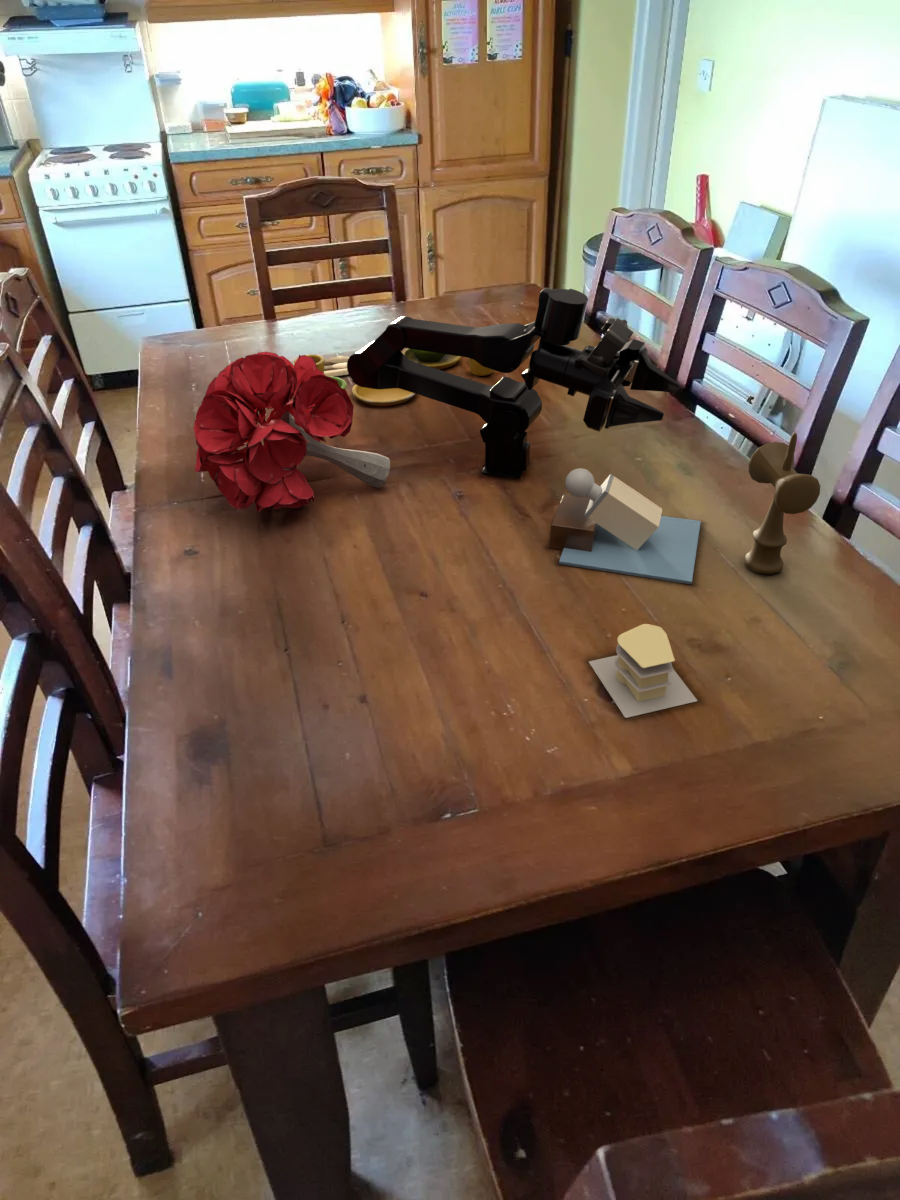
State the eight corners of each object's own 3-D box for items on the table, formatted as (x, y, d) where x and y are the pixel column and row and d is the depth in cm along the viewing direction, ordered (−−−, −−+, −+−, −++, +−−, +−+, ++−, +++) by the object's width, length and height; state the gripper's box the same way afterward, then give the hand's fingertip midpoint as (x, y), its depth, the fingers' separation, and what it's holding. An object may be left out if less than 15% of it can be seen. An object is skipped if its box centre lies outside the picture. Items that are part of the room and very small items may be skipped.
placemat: (558, 564, 119) (559, 561, 119) (579, 507, 131) (579, 504, 131) (691, 584, 114) (692, 581, 114) (700, 523, 127) (700, 520, 126)
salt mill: (558, 539, 123) (563, 476, 117) (565, 521, 127) (569, 460, 121) (654, 553, 120) (664, 489, 114) (658, 534, 123) (668, 472, 117)
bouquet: (343, 490, 150) (172, 432, 136) (405, 374, 139) (225, 298, 125) (362, 565, 134) (170, 508, 120) (433, 441, 123) (230, 362, 109)
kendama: (770, 545, 122) (802, 414, 110) (798, 585, 114) (836, 448, 102) (729, 548, 121) (756, 417, 109) (754, 588, 113) (787, 451, 101)
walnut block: (549, 548, 122) (550, 524, 120) (561, 516, 129) (563, 493, 126) (591, 554, 121) (593, 530, 118) (601, 522, 127) (604, 499, 125)
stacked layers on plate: (697, 701, 97) (705, 664, 93) (625, 718, 95) (630, 681, 91) (656, 647, 104) (662, 611, 101) (588, 661, 102) (592, 625, 99)
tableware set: (474, 344, 187) (474, 315, 183) (512, 393, 166) (513, 362, 162) (285, 364, 180) (281, 335, 176) (299, 419, 158) (294, 387, 154)
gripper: (560, 343, 115) (671, 380, 111) (602, 293, 127) (703, 325, 124) (544, 414, 123) (647, 451, 119) (585, 360, 135) (680, 392, 132)
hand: (671, 402), depth 123 cm, fingers open, 9 cm apart
